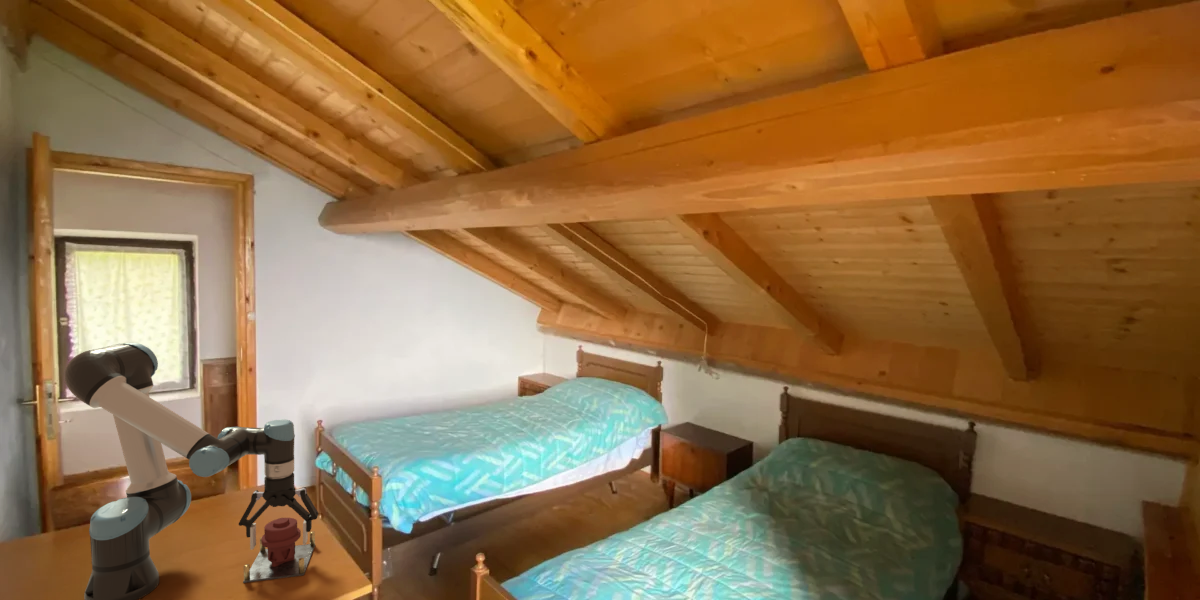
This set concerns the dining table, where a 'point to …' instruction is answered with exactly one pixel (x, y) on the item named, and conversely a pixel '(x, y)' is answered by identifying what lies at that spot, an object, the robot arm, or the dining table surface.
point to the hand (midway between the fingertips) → (279, 544)
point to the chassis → (288, 569)
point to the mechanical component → (281, 540)
